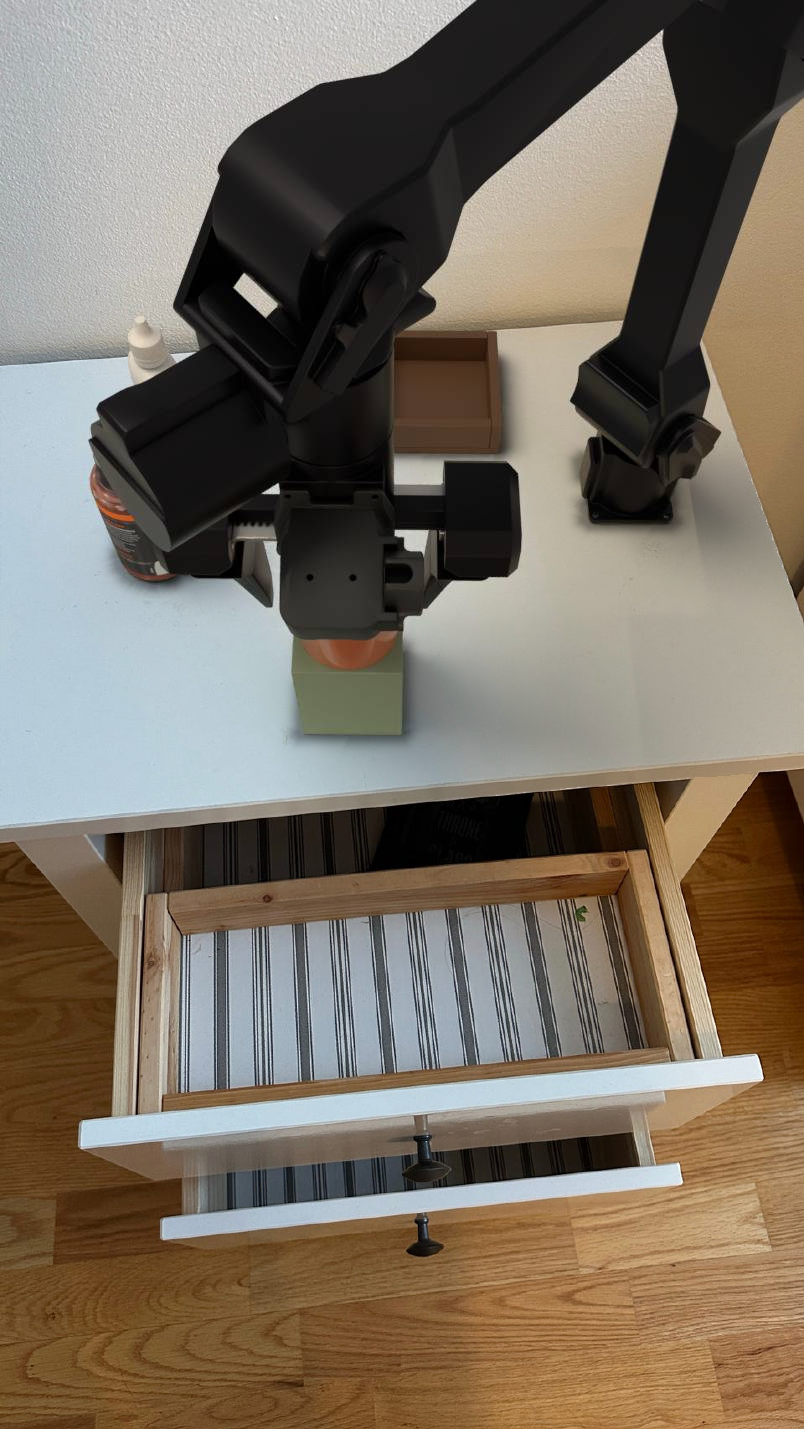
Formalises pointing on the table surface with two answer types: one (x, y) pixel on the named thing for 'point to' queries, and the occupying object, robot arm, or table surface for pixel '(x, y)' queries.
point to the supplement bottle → (125, 531)
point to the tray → (446, 392)
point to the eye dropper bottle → (147, 351)
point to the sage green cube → (349, 694)
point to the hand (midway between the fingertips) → (346, 601)
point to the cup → (351, 650)
